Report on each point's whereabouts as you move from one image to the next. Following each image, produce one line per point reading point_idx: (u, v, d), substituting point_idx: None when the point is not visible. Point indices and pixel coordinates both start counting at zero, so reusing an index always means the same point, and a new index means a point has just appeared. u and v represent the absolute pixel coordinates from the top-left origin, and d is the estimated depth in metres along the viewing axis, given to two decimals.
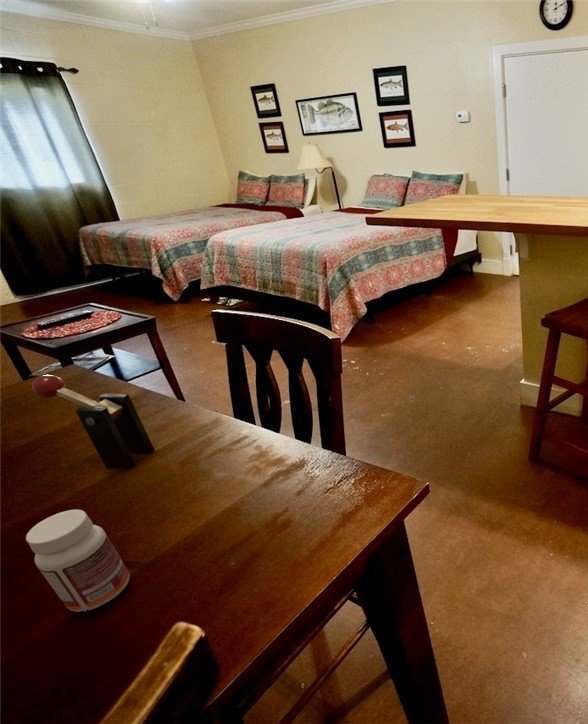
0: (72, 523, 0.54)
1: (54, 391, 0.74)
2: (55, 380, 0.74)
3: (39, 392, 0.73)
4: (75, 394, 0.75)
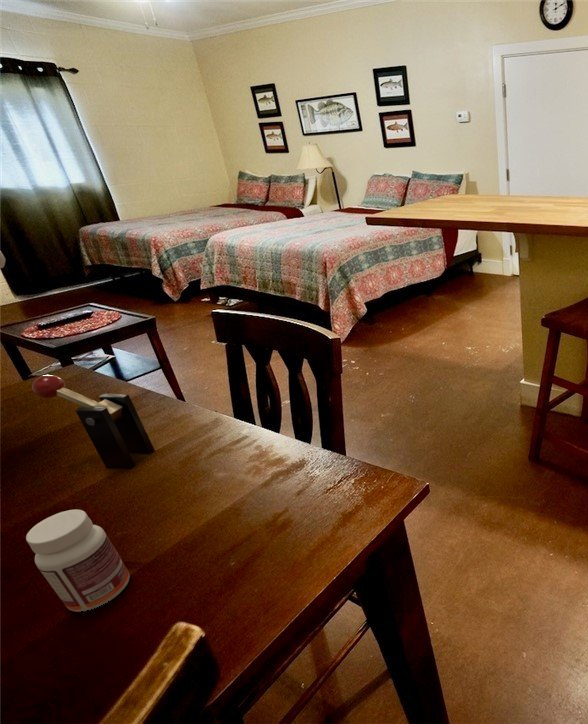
0: (73, 522, 0.54)
1: (54, 391, 0.74)
2: (55, 380, 0.74)
3: (39, 392, 0.73)
4: (75, 394, 0.75)
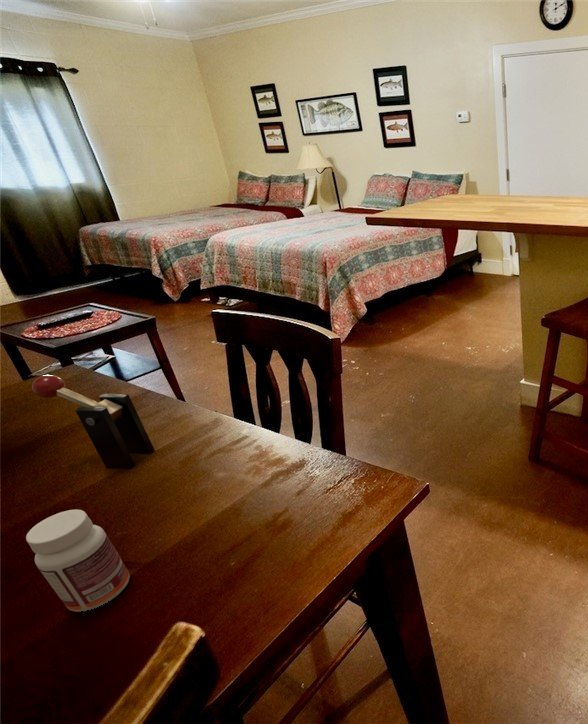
0: (72, 522, 0.54)
1: (54, 391, 0.74)
2: (55, 380, 0.74)
3: (39, 392, 0.73)
4: (75, 394, 0.75)
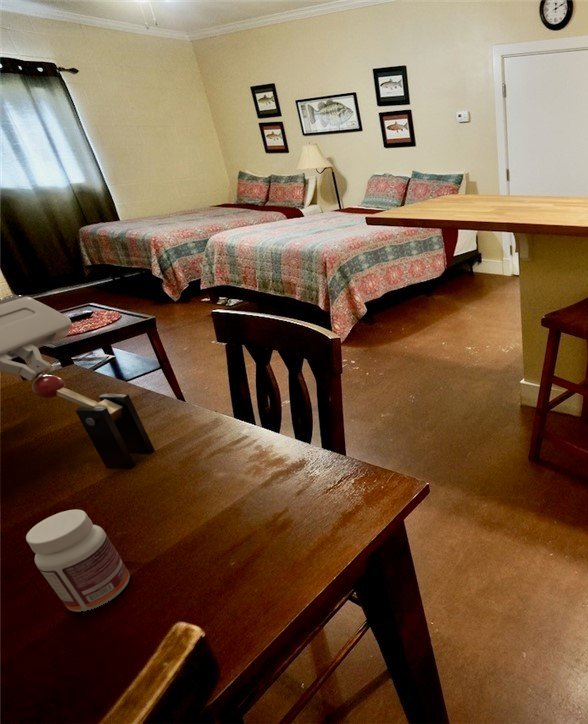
0: (72, 522, 0.54)
1: (54, 391, 0.74)
2: (55, 380, 0.74)
3: (39, 392, 0.73)
4: (75, 394, 0.75)
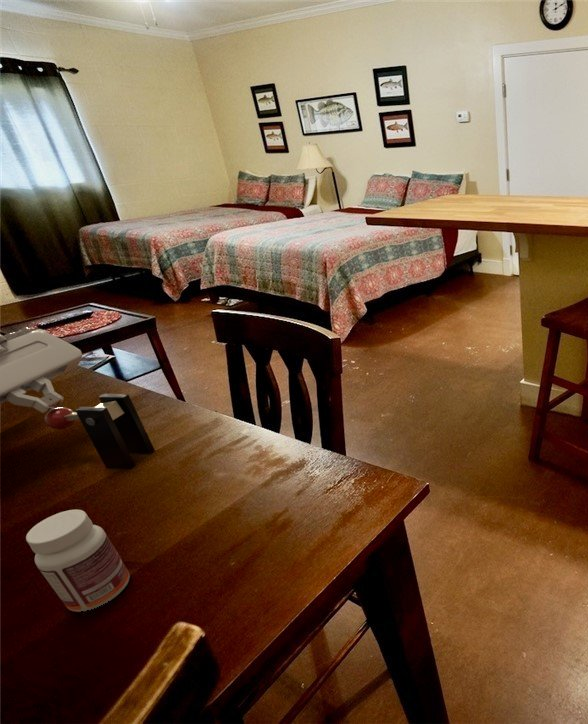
0: (72, 522, 0.54)
1: (62, 417, 0.76)
2: (59, 409, 0.77)
3: (51, 423, 0.76)
4: None
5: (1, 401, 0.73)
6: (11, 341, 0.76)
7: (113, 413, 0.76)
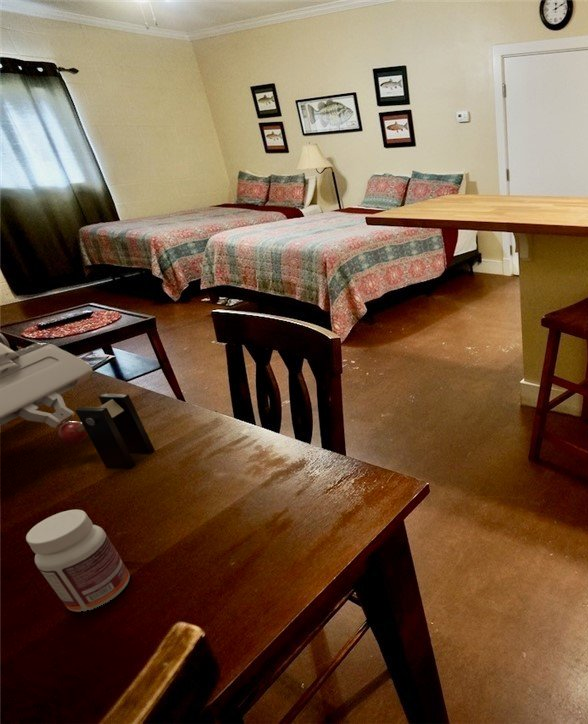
0: (72, 522, 0.54)
1: (73, 429, 0.77)
2: (69, 422, 0.78)
3: (64, 437, 0.77)
4: None
5: (14, 417, 0.74)
6: (23, 357, 0.77)
7: (111, 411, 0.75)
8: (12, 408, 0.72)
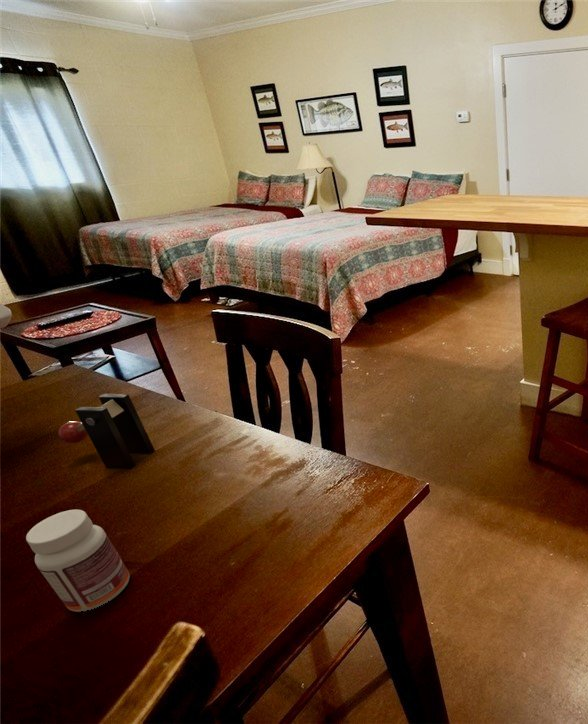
0: (72, 522, 0.54)
1: (73, 429, 0.77)
2: (69, 422, 0.78)
3: (64, 437, 0.77)
4: None
5: None
6: None
7: (111, 411, 0.75)
8: None
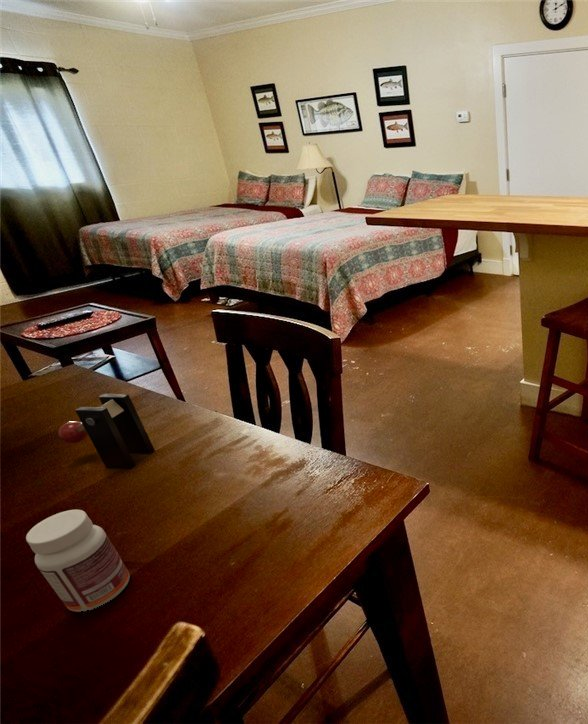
0: (72, 523, 0.54)
1: (73, 429, 0.77)
2: (69, 422, 0.78)
3: (64, 437, 0.77)
4: None
5: None
6: None
7: (111, 411, 0.75)
8: None
